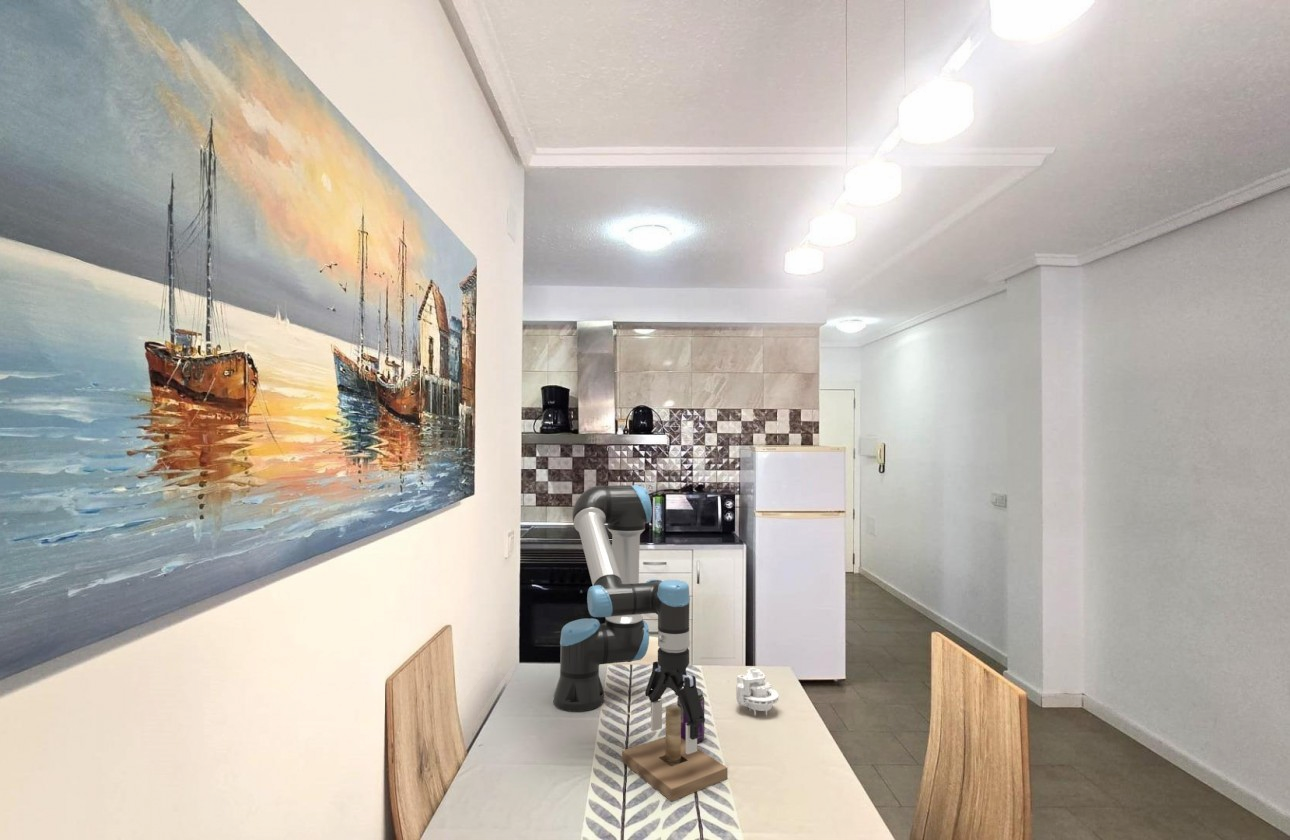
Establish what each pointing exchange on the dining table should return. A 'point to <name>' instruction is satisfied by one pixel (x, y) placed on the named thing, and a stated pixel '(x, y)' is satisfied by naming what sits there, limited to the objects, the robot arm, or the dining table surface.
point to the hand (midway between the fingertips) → (673, 740)
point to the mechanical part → (755, 691)
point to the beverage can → (684, 720)
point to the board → (674, 769)
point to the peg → (673, 735)
